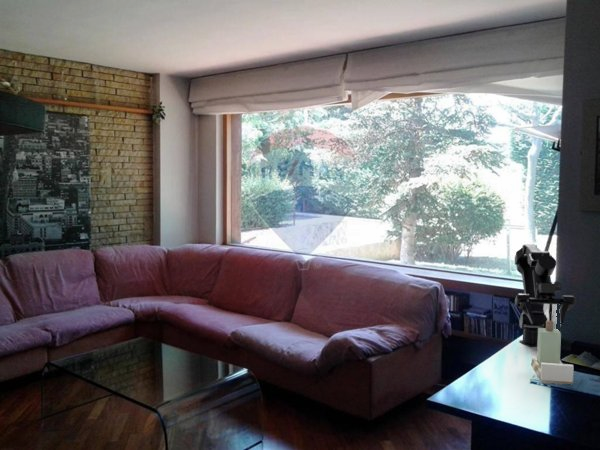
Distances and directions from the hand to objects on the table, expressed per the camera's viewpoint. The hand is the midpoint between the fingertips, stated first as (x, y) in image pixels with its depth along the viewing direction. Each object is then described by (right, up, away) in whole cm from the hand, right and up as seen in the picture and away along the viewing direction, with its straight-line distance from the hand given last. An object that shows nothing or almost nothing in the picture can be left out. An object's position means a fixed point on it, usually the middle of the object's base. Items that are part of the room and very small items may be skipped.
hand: (547, 324), depth 182 cm
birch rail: (-2, -15, -8) cm, 17 cm away
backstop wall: (-4, -15, -15) cm, 22 cm away
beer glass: (+17, -12, +33) cm, 39 cm away
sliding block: (-1, -13, -4) cm, 14 cm away
